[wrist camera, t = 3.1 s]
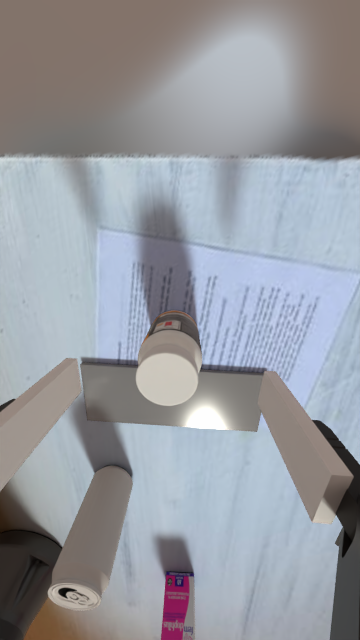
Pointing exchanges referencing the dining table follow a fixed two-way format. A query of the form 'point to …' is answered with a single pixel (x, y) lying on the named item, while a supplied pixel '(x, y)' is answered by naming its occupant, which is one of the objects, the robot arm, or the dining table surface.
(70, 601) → the beverage can
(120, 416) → the slate board
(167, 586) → the supplement box
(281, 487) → the dining table surface
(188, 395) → the pill bottle
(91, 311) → the dining table surface
